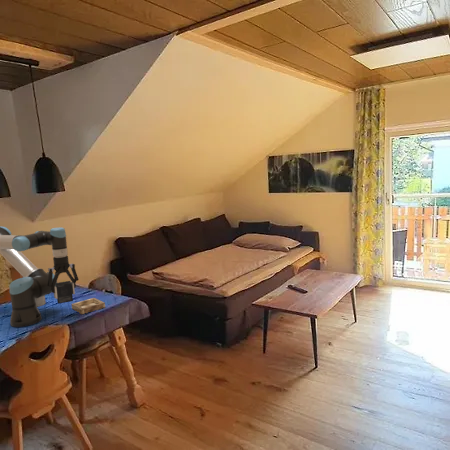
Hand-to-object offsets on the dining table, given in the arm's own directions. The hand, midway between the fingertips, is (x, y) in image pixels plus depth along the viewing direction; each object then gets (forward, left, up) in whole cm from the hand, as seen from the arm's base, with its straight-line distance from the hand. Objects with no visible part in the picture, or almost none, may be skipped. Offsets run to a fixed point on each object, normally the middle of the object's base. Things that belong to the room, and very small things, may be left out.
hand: (64, 295), depth 222 cm
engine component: (-5, +34, -12) cm, 37 cm away
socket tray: (+13, +2, -11) cm, 18 cm away
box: (0, 0, -3) cm, 3 cm away
